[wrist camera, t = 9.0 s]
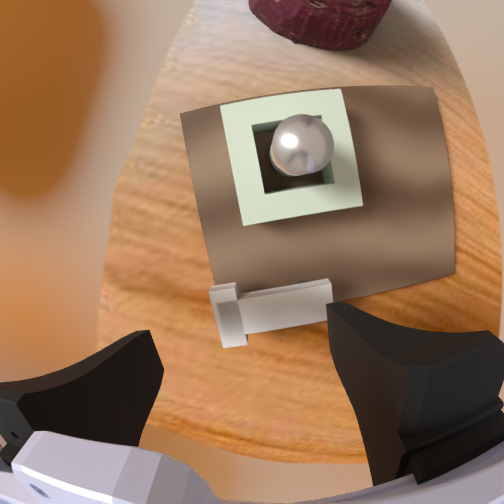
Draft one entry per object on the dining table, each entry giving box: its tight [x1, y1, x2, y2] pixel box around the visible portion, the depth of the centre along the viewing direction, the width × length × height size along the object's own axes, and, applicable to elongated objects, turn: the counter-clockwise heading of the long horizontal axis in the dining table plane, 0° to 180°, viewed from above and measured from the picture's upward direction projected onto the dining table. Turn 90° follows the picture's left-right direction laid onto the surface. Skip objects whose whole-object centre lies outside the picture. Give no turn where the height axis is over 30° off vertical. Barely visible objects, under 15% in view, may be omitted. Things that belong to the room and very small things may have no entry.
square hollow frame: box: [220, 89, 363, 226], centre depth 17 cm, size 7×7×3 cm
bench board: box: [180, 86, 455, 348], centre depth 18 cm, size 16×19×4 cm
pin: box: [269, 114, 334, 177], centre depth 15 cm, size 3×3×7 cm
